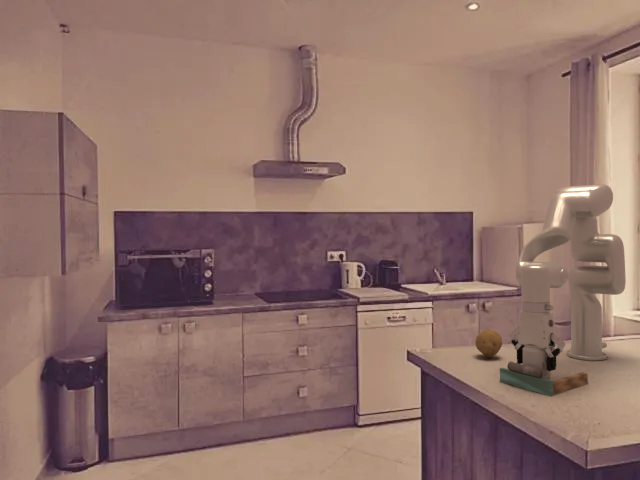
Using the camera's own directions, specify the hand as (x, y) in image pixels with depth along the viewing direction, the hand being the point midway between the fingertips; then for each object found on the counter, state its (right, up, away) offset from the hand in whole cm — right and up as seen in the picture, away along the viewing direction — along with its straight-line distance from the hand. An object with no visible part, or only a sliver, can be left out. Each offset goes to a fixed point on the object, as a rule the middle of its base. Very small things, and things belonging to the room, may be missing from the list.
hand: (536, 366), depth 151 cm
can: (0, -5, 0) cm, 6 cm away
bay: (+3, -5, +2) cm, 7 cm away
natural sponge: (-4, -5, +31) cm, 32 cm away
